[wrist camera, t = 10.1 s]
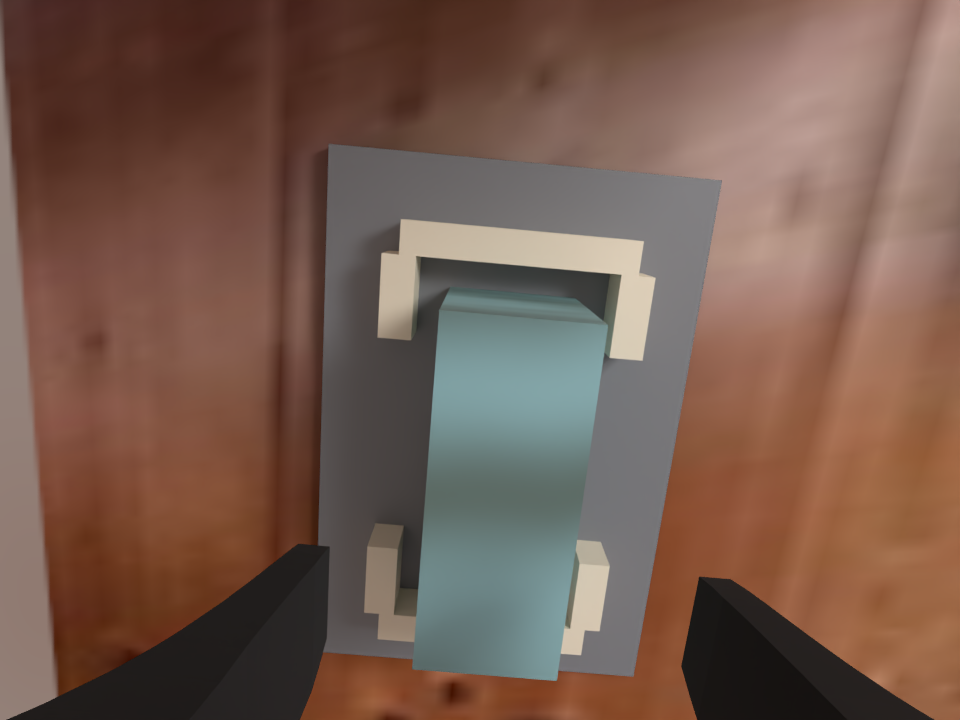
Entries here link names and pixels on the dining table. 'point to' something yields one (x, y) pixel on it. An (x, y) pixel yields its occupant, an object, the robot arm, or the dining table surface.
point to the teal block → (505, 480)
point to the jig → (412, 354)
